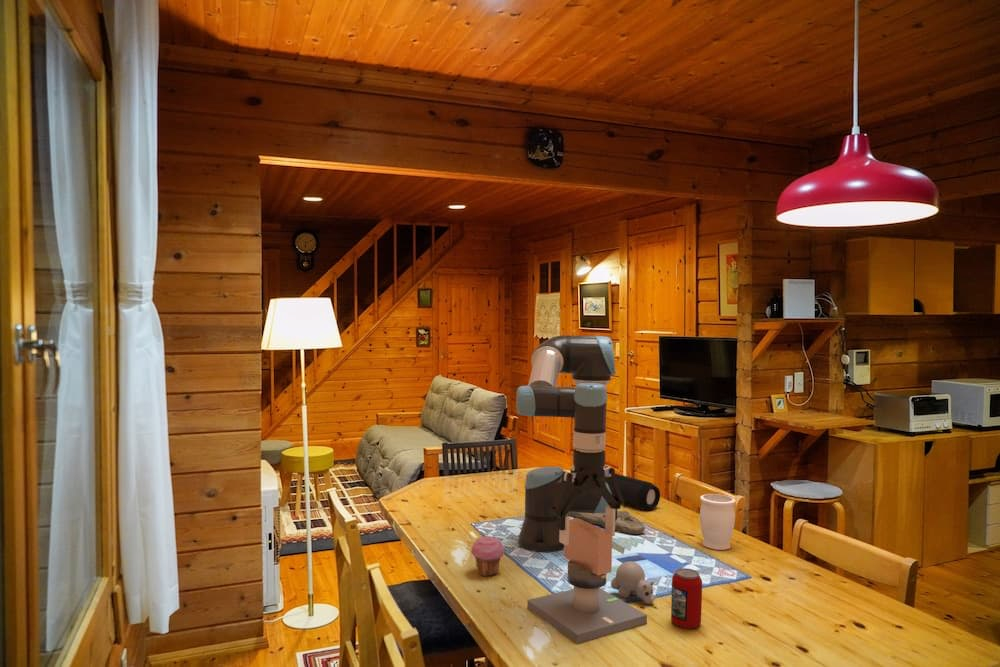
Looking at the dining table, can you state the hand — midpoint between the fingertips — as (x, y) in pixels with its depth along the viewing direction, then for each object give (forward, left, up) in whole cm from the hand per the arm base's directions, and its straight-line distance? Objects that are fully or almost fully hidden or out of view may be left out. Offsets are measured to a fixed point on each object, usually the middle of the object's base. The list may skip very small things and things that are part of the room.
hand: (587, 539), depth 160 cm
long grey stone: (-55, +49, -19) cm, 76 cm away
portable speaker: (-69, +73, -19) cm, 102 cm away
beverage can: (+14, +18, -19) cm, 30 cm away
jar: (-19, +66, -19) cm, 71 cm away
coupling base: (0, 0, -18) cm, 18 cm away
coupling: (0, 0, -10) cm, 10 cm away
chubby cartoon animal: (-2, +17, -19) cm, 25 cm away
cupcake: (-34, -8, -19) cm, 39 cm away
